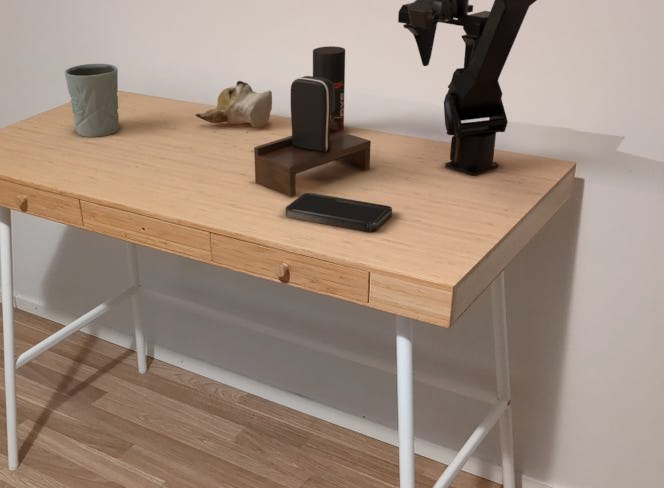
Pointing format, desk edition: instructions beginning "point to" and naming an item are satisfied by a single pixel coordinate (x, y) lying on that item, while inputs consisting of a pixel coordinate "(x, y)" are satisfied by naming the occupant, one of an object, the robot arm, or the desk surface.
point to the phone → (339, 212)
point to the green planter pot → (94, 98)
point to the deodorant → (332, 77)
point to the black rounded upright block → (312, 112)
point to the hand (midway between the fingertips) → (445, 70)
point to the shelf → (306, 159)
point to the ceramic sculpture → (240, 106)
